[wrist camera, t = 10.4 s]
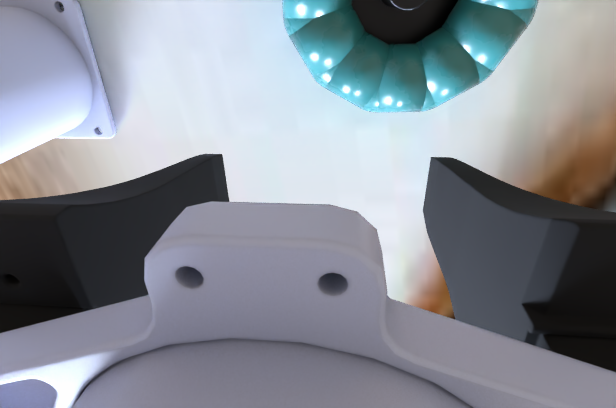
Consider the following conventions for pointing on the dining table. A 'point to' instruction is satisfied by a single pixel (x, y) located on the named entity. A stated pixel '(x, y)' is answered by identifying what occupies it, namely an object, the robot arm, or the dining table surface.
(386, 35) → the hook stand
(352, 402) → the robot arm
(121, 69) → the dining table surface
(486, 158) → the dining table surface
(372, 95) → the ring
